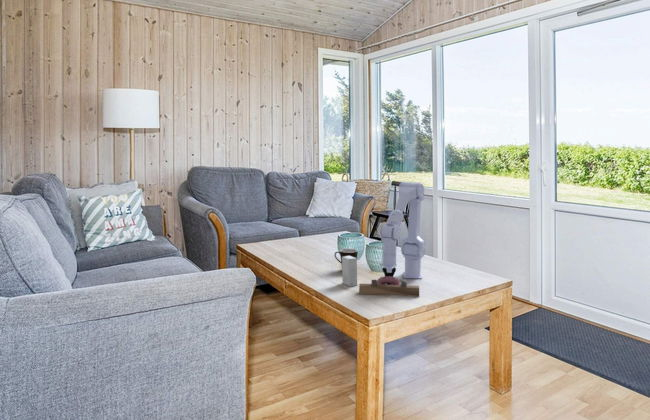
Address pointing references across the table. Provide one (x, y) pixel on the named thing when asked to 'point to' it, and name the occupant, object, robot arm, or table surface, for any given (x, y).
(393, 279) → the video game controller
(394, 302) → the table surface
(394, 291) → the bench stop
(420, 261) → the robot arm
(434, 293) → the table surface
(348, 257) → the skincare box
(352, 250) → the coffee mug
